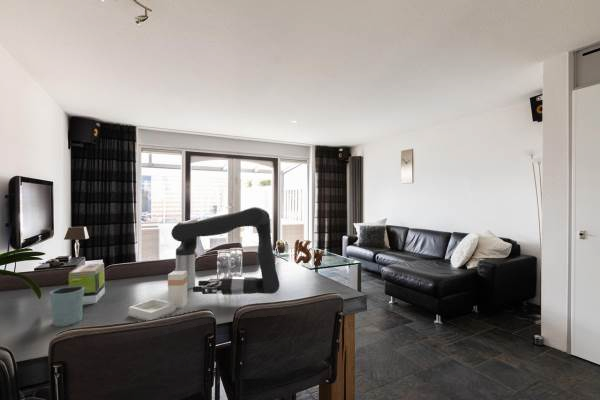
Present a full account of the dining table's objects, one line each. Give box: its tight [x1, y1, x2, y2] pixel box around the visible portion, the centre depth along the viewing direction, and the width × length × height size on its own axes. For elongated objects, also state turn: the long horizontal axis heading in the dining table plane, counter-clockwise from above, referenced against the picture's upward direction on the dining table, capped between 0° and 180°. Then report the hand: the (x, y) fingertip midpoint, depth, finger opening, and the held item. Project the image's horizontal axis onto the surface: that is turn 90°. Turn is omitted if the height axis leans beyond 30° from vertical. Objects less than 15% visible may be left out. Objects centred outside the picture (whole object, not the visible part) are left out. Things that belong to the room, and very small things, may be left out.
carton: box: [167, 270, 188, 309], centre depth 127 cm, size 6×6×14 cm
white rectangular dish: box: [128, 298, 176, 321], centre depth 117 cm, size 13×11×4 cm
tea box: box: [68, 262, 106, 306], centre depth 134 cm, size 15×10×15 cm
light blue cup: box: [49, 286, 84, 327], centre depth 110 cm, size 10×10×12 cm
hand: (195, 286), depth 127 cm, fingers open, 8 cm apart
